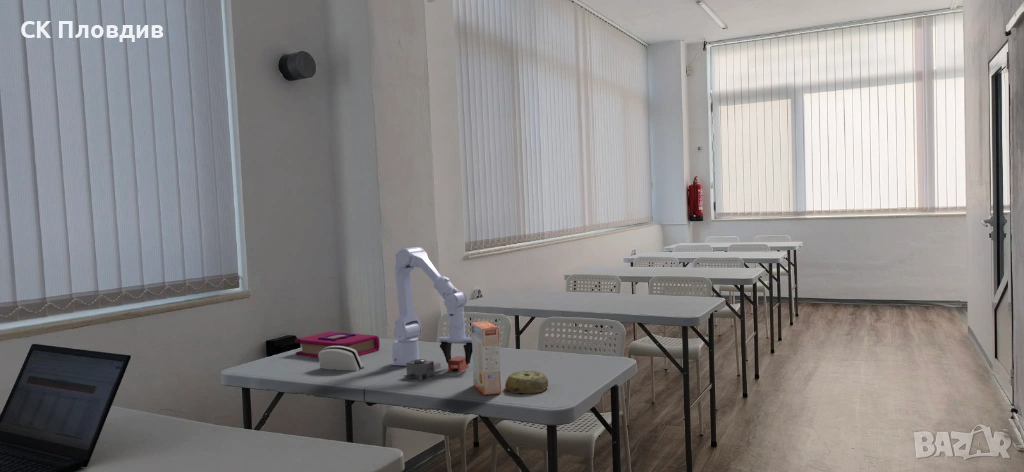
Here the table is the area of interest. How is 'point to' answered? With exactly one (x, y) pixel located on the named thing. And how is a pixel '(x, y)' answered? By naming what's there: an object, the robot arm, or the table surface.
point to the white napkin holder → (340, 358)
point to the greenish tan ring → (526, 382)
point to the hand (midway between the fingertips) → (458, 363)
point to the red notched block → (457, 363)
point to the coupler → (421, 369)
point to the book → (338, 343)
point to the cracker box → (486, 357)
